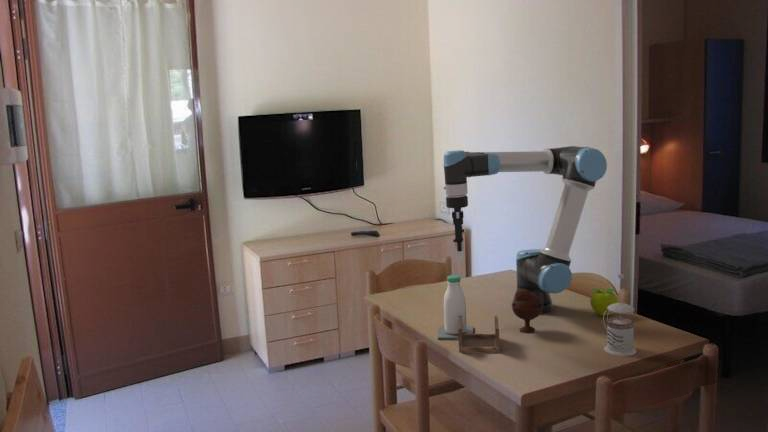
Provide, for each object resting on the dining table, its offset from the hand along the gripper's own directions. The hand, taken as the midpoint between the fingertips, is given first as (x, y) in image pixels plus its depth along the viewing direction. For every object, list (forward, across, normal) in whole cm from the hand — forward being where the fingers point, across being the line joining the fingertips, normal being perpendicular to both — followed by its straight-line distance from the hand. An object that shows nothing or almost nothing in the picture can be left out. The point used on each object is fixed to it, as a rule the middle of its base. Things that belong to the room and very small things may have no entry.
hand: (460, 255), depth 223 cm
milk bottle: (+27, +4, -3) cm, 27 cm away
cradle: (+27, +15, +5) cm, 32 cm away
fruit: (+29, -14, +52) cm, 61 cm away
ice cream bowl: (+28, +2, +22) cm, 36 cm away
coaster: (+27, +4, -3) cm, 28 cm away
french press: (+29, +20, +48) cm, 60 cm away
